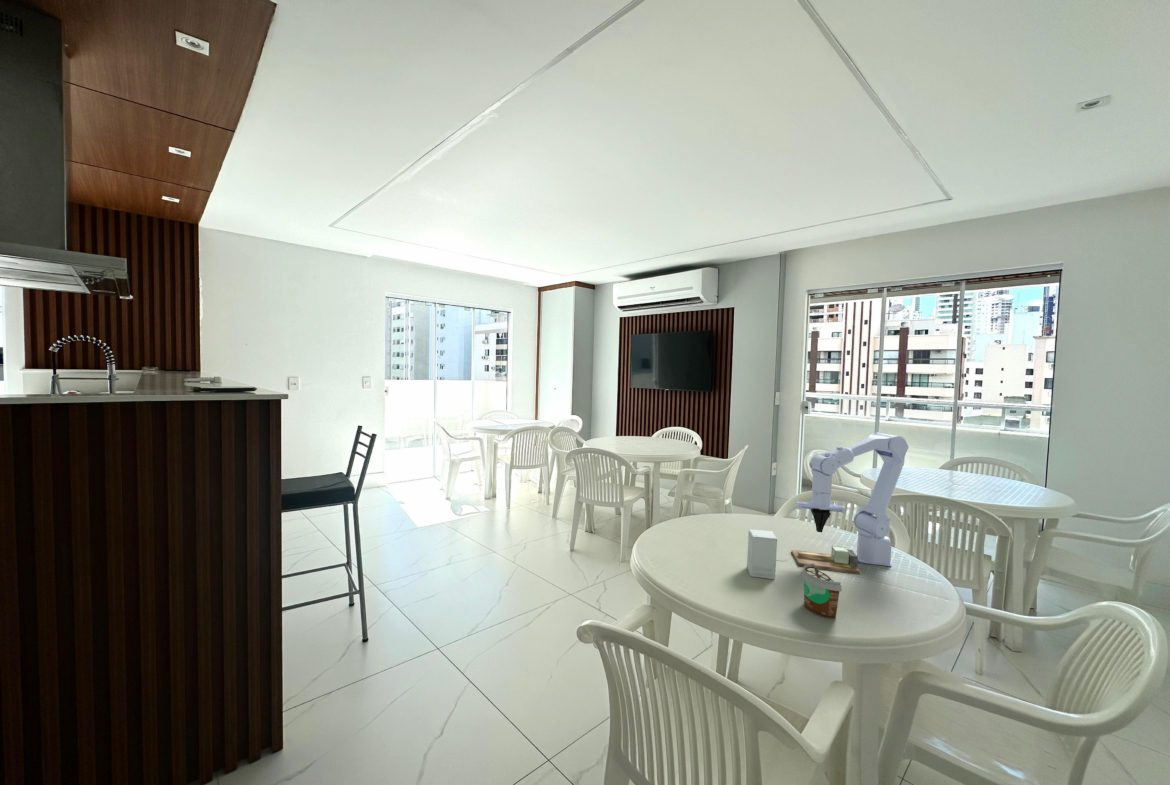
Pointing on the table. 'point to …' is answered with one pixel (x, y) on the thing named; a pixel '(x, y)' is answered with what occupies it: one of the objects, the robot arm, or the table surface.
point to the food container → (820, 592)
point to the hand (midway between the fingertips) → (819, 531)
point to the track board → (826, 561)
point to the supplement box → (762, 554)
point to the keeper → (840, 554)
